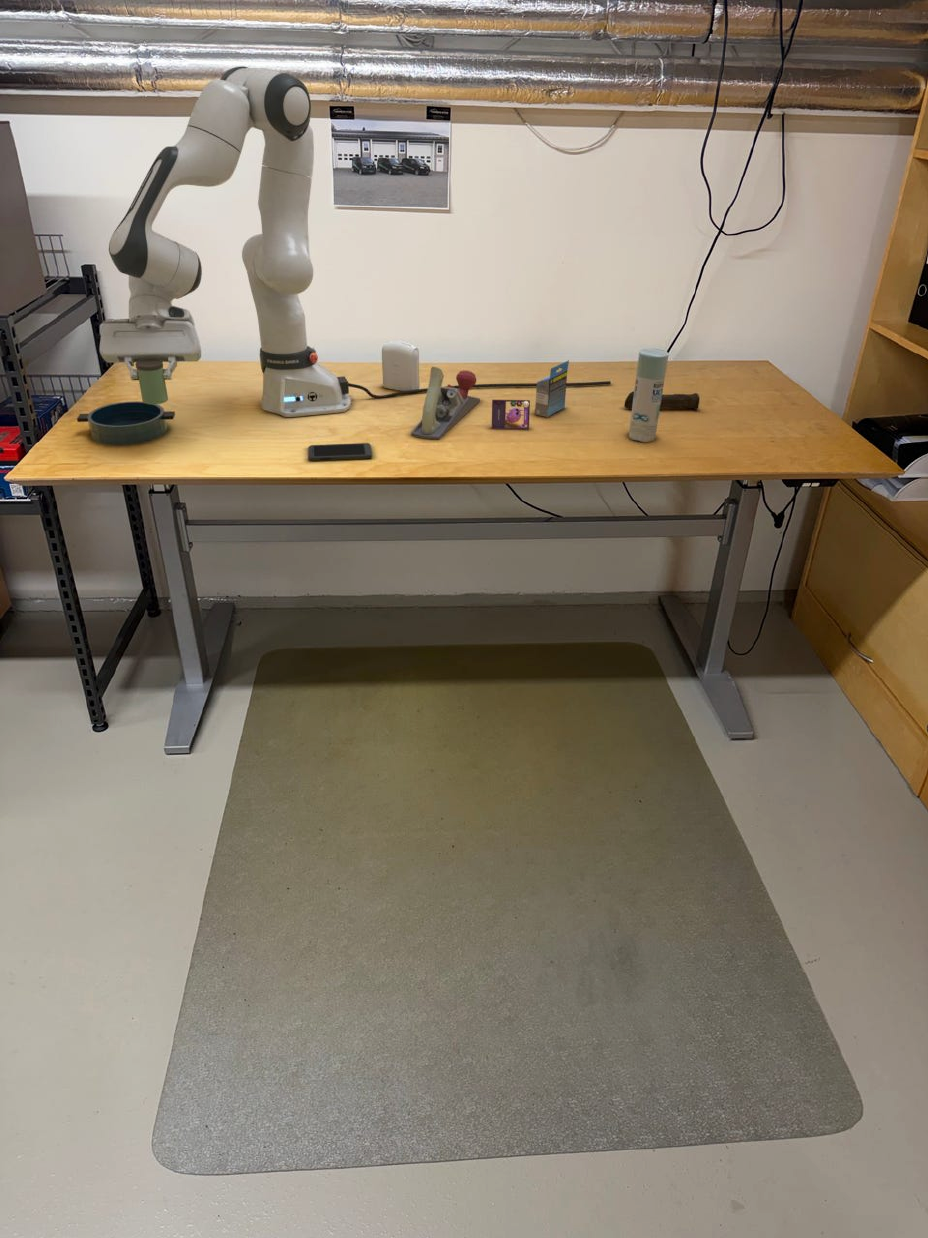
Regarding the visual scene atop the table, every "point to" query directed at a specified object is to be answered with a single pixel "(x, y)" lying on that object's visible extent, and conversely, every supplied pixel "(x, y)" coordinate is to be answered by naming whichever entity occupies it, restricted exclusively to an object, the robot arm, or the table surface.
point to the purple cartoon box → (512, 416)
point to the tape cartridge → (552, 392)
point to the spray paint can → (647, 394)
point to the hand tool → (671, 401)
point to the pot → (127, 423)
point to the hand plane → (445, 404)
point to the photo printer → (400, 366)
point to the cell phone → (340, 451)
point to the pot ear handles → (166, 416)
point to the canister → (152, 381)
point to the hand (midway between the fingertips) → (151, 378)
